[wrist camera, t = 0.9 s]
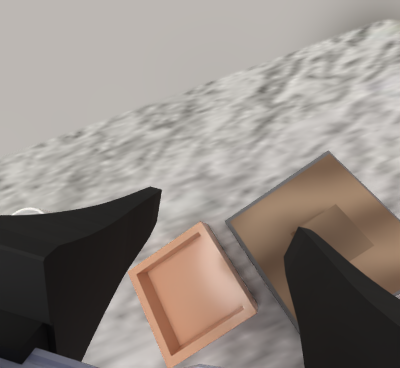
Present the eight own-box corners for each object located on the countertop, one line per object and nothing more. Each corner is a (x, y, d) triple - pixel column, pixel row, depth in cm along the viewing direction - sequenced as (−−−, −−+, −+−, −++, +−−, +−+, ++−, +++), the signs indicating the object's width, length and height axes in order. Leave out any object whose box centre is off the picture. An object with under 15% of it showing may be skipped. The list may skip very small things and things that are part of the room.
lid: (435, 262, 19) (486, 266, 15) (310, 340, 20) (322, 365, 16) (327, 156, 24) (341, 135, 20) (230, 222, 25) (223, 216, 21)
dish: (258, 305, 23) (257, 313, 20) (179, 355, 23) (168, 369, 21) (207, 224, 27) (200, 221, 24) (141, 269, 27) (127, 271, 25)
